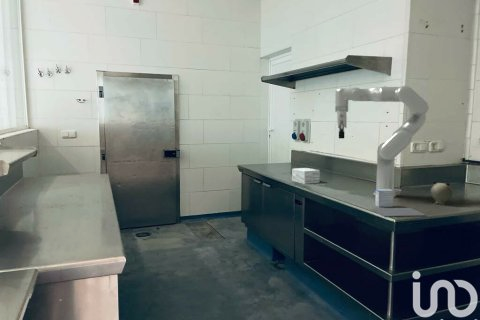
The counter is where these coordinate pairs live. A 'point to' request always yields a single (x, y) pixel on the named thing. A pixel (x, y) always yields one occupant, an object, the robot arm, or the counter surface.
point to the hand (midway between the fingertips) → (341, 138)
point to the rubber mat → (397, 212)
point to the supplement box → (305, 175)
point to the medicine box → (384, 197)
